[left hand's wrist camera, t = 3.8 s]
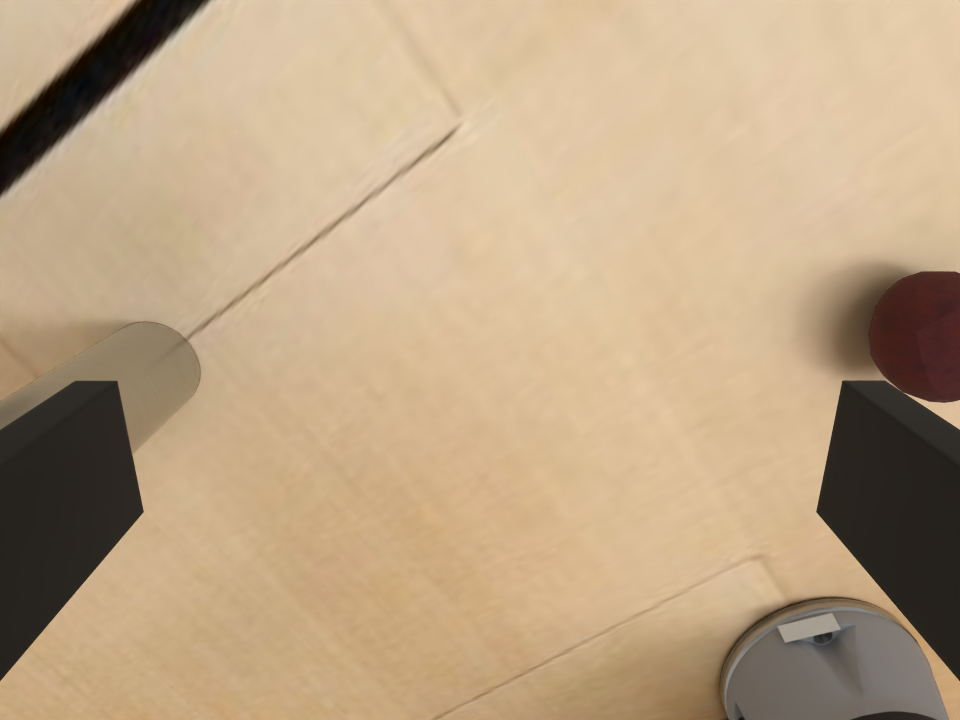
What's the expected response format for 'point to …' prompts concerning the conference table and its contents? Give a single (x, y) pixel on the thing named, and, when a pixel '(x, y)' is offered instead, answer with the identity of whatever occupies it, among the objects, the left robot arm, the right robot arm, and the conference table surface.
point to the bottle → (124, 377)
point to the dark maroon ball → (920, 336)
